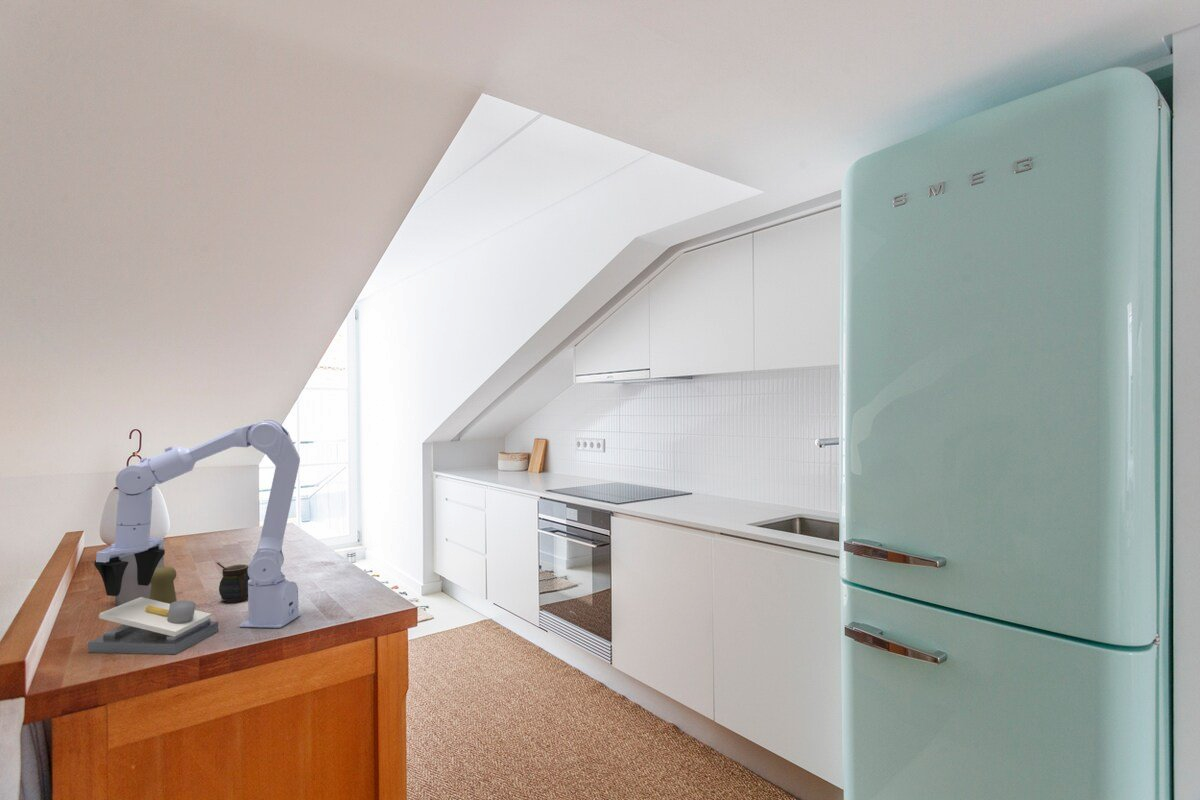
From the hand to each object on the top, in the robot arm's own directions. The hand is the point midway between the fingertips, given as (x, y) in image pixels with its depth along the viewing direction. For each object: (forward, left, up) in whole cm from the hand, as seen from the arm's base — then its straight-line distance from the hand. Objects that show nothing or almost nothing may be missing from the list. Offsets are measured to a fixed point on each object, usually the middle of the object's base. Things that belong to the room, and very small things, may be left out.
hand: (128, 590), depth 128 cm
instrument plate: (-6, +1, -6) cm, 8 cm away
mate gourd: (-5, -25, -10) cm, 28 cm away
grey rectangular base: (-6, +1, -10) cm, 12 cm away
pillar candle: (+18, -23, -10) cm, 31 cm away
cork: (+4, -13, -10) cm, 17 cm away
